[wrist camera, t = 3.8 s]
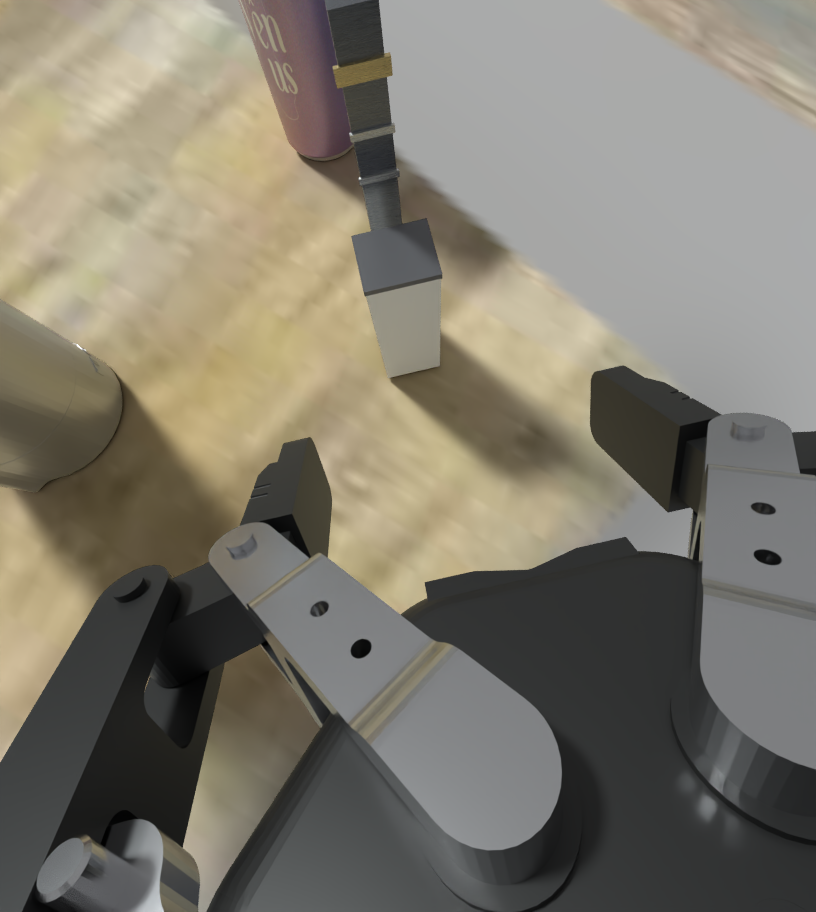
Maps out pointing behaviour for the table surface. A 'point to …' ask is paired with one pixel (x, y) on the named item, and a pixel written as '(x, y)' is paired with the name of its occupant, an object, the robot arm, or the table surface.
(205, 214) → the table surface
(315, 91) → the beverage can
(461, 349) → the table surface
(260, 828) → the robot arm
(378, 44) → the rail
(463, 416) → the table surface
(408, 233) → the fader knob
